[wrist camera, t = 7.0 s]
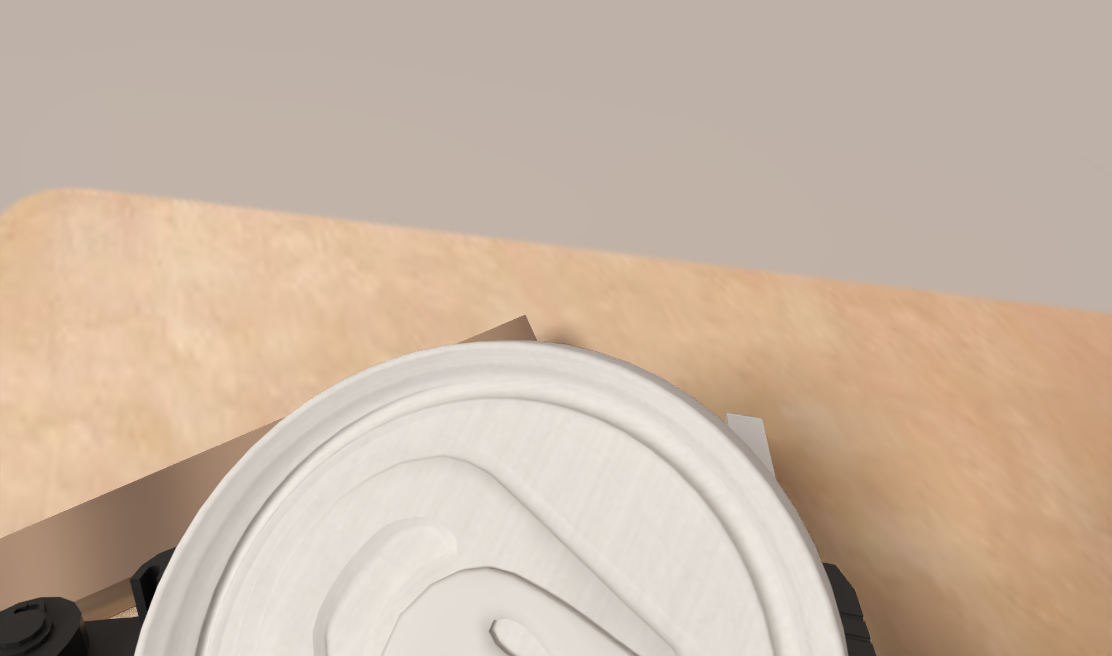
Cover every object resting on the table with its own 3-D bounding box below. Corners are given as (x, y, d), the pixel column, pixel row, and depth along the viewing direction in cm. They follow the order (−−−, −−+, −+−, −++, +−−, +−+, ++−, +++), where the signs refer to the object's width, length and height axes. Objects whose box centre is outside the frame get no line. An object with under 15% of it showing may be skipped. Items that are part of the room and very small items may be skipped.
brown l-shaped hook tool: (534, 351, 23) (523, 308, 19) (588, 470, 21) (587, 448, 18) (-182, 661, 21) (-353, 681, 17) (-178, 819, 19) (-366, 880, 15)
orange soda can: (537, 453, 20) (414, 184, 6) (710, 572, 19) (1055, 568, 5) (415, 631, 19) (-118, 804, 5) (594, 775, 17) (602, 1657, 3)
